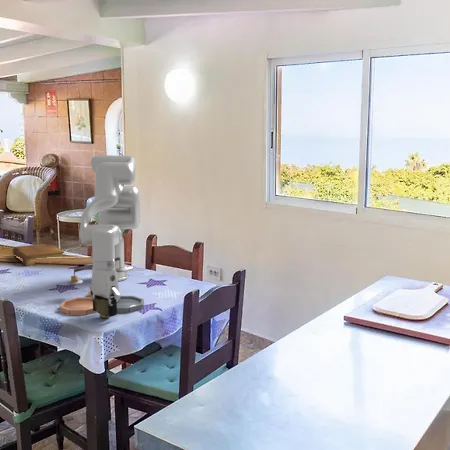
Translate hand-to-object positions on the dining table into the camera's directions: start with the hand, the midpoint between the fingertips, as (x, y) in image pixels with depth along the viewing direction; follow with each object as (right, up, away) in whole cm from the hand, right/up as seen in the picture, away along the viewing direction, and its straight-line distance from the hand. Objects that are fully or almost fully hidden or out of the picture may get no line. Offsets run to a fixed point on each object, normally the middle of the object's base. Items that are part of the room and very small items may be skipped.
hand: (104, 312), depth 187 cm
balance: (-8, +2, +23) cm, 24 cm away
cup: (0, -2, 0) cm, 2 cm away
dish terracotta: (-11, 0, +9) cm, 14 cm away
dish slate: (+4, 0, +12) cm, 13 cm away
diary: (-52, +13, +82) cm, 98 cm away
